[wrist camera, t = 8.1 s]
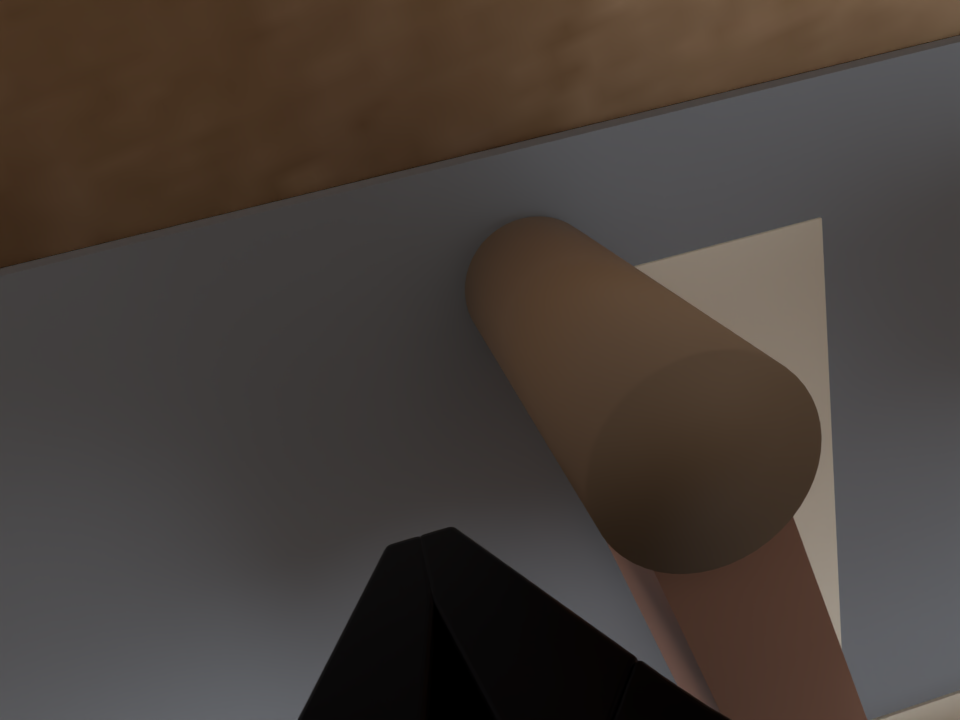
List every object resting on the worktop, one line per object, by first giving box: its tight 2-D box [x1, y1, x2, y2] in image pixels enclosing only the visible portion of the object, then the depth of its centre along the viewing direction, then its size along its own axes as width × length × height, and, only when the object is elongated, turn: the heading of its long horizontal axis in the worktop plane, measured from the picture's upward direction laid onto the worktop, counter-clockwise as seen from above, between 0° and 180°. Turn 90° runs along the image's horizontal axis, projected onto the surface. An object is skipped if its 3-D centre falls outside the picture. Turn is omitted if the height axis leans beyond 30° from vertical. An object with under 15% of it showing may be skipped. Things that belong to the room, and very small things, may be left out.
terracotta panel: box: [465, 216, 867, 720], centre depth 9 cm, size 10×2×4 cm, turn 25°
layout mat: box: [0, 35, 960, 720], centre depth 12 cm, size 23×14×1 cm, turn 102°
